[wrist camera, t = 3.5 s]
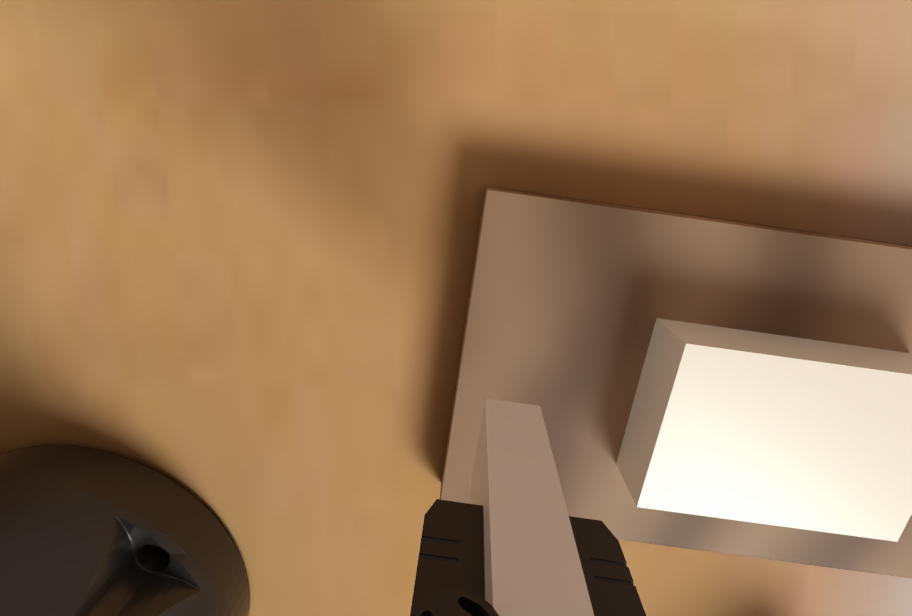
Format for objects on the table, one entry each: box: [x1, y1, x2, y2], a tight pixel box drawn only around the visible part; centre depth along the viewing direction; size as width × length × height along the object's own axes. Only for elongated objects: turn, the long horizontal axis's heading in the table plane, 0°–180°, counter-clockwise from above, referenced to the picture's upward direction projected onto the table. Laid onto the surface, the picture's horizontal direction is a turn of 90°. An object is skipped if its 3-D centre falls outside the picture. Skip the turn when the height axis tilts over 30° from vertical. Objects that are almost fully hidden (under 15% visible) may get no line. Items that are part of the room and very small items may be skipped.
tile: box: [616, 318, 912, 542], centre depth 16 cm, size 9×6×2 cm, turn 82°
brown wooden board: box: [440, 187, 912, 578], centre depth 19 cm, size 20×13×2 cm, turn 82°
